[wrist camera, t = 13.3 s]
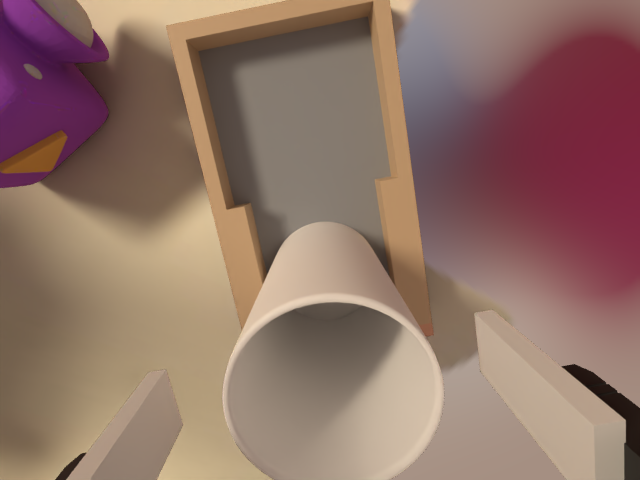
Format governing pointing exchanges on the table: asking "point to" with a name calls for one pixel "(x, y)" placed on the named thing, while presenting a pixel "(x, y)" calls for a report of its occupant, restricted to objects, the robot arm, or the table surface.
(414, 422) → the cup
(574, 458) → the robot arm
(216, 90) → the board
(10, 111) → the toy camera
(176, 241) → the table surface
